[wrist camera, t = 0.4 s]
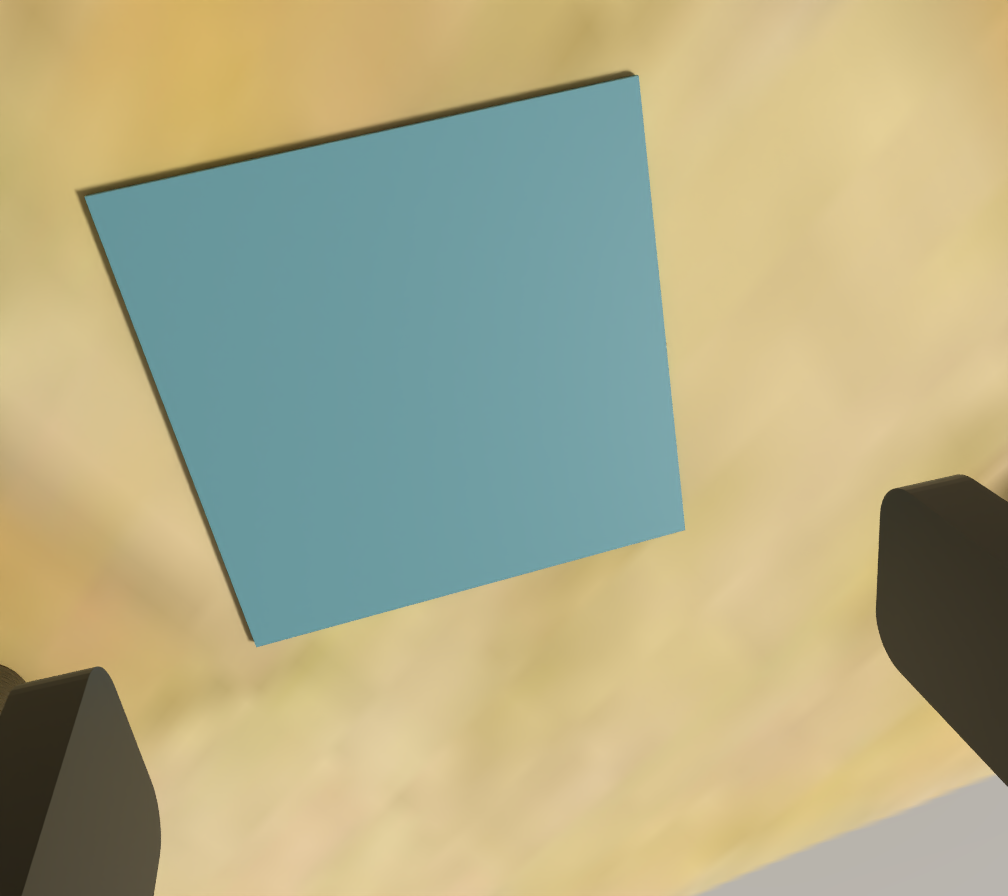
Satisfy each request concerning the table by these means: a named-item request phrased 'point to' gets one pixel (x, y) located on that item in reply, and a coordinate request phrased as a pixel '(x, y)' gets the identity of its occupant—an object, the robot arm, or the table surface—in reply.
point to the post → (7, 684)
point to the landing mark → (411, 353)
